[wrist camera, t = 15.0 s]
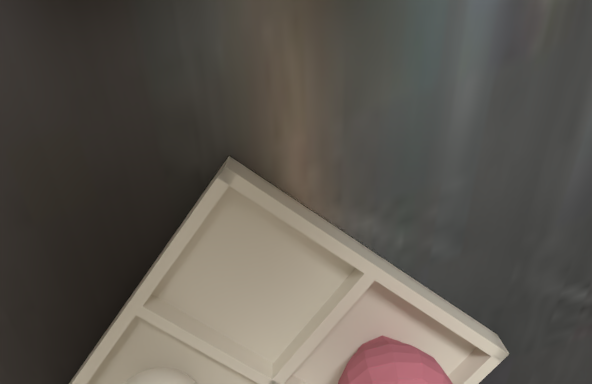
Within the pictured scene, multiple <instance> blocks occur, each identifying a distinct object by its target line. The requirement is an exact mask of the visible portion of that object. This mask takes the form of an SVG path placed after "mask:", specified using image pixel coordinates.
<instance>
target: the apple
mask: <svg viewBox="0 0 592 384" xmlns="http://www.w3.org/2000/svg"><path fill="white" fill-rule="evenodd" d="M338 384H453V383H452V382H451V380H450V379H449V377H448V376H447V375H446V373H445V372H444V370H443V369H442V368H441V366H440V365H439V364H438V362H437V361H436V360H435V359H434V357H432V356H430V355H429V354H427V353H425V352H423V351H421V350H420V349H418V348H416V347H414V346H412V345H409V344H406V343H402V342H400V341H398V340H394V339H391V338H389V337H386V336H383V335H382V336H380V337H377V338H375V339H372V340H370V341H368V342H366V343H364V344H362V345H361V346H360V347H359V348H358V350H357V352H356V353H355V354H354V355H353V356H352V357H351V359H350V360H349V361H348V363H347V365H346V367H345V369H344V371H343V373H342V375H341V377H340V379H339V381H338Z"/></svg>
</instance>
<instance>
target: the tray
mask: <svg viewBox="0 0 592 384" xmlns="http://www.w3.org/2000/svg"><path fill="white" fill-rule="evenodd" d="M382 335H383V336H386V337H389V338H391V339H394V340H398V341H400V342H402V343H406V344H409V345H412V346H414V347H416V348H418V349H420V350H421V351H423V352H425V353H427V354H429V355H430V356H432V357H434V359H435V360H436V361H437V362H438V364H439V365H440V366H441V368H442V369H443V370H444V372H445V373H446V375H447V376H448V377H449V379H450V380H451V382H452V383H453V384H478V383H479V382H480V381H481V380H482V379H484V378H485V377H486V376H487V375H488V374H489V373H490V372H491V371H492V370H493V369H494V368H495V367H496V366H497V365H498V364H499V363H500V362H501V361H502V360H503V359H505V358H506V357H507V356H508V355H509V353H508V351H507V350H506V348H505V346H504V345H503V343H502V342H501V340H500V338H499V337H498V335H497V334H496V333H494V332H493V331H491V330H490V329H488V328H487V327H485V326H484V325H482V324H481V323H479V322H478V321H476V320H475V319H473V318H472V317H470V316H469V315H467V314H466V313H464V312H463V311H461V310H460V309H458V308H457V307H455V306H454V305H452V304H451V303H449V302H448V301H446V300H445V299H443V298H442V297H440V296H439V295H437V294H436V293H434V292H433V291H431V290H430V289H428V288H427V287H425V286H424V285H422V284H421V283H419V282H418V281H416V280H415V279H413V278H412V277H410V276H409V275H407V274H406V273H404V272H403V271H401V270H400V269H398V268H397V267H395V266H394V265H392V264H391V263H389V262H388V261H386V260H385V259H383V258H382V257H380V256H379V255H377V254H376V253H374V252H373V251H371V250H370V249H368V248H367V247H365V246H364V245H362V244H361V243H359V242H358V241H356V240H355V239H353V238H352V237H350V236H349V235H347V234H346V233H344V232H343V231H341V230H340V229H338V228H337V227H335V226H334V225H332V224H331V223H329V222H328V221H326V220H325V219H323V218H322V217H320V216H319V215H317V214H316V213H314V212H313V211H311V210H310V209H308V208H307V207H305V206H304V205H302V204H301V203H299V202H298V201H296V200H295V199H293V198H292V197H290V196H289V195H287V194H286V193H284V192H283V191H281V190H280V189H278V188H277V187H275V186H274V185H272V184H271V183H269V182H268V181H266V180H265V179H263V178H262V177H260V176H259V175H257V174H256V173H254V172H253V171H251V170H250V169H248V168H247V167H245V166H244V165H242V164H241V163H239V162H238V161H236V160H235V159H233V158H232V157H230V156H229V157H228V158H227V159H226V161H225V162H224V164H223V165H222V166H221V168H220V169H219V171H218V172H217V174H216V175H215V176H214V178H213V179H212V181H211V182H210V184H209V185H208V186H207V188H206V189H205V191H204V192H203V194H202V195H201V196H200V198H199V199H198V201H197V202H196V203H195V205H194V206H193V208H192V209H191V211H190V212H189V213H188V215H187V216H186V218H185V219H184V221H183V222H182V223H181V225H180V226H179V228H178V229H177V230H176V232H175V233H174V235H173V236H172V238H171V239H170V240H169V242H168V243H167V245H166V246H165V248H164V249H163V250H162V252H161V253H160V255H159V256H158V258H157V259H156V260H155V262H154V263H153V265H152V266H151V267H150V269H149V270H148V272H147V273H146V275H145V276H144V277H143V279H142V280H141V282H140V283H139V285H138V286H137V287H136V289H135V290H134V292H133V293H132V295H131V296H130V297H129V299H128V300H127V302H126V303H125V304H124V306H123V307H122V309H121V310H120V312H119V313H118V314H117V316H116V317H115V319H114V320H113V322H112V323H111V324H110V326H109V327H108V329H107V330H106V332H105V333H104V334H103V336H102V337H101V339H100V340H99V341H98V343H97V344H96V346H95V347H94V349H93V350H92V351H91V353H90V354H89V356H88V357H87V359H86V360H85V361H84V363H83V364H82V366H81V367H80V368H79V370H78V371H77V373H76V374H75V376H74V377H73V378H72V380H71V381H70V383H69V384H124V383H125V382H126V381H127V380H128V379H129V378H131V377H133V376H134V375H136V374H137V373H140V372H142V371H145V370H148V369H152V368H159V367H163V368H172V369H176V370H179V371H181V372H183V373H185V374H187V375H188V376H190V377H191V378H192V379H193V380H194V381H195V382H196V383H197V384H338V381H339V379H340V377H341V375H342V373H343V371H344V369H345V367H346V365H347V363H348V361H349V360H350V359H351V357H352V356H353V355H354V354H355V353H356V352H357V350H358V348H359V347H360V346H361V345H362V344H364V343H366V342H368V341H370V340H372V339H375V338H377V337H380V336H382Z"/></svg>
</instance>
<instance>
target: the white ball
mask: <svg viewBox="0 0 592 384" xmlns="http://www.w3.org/2000/svg"><path fill="white" fill-rule="evenodd" d="M124 384H197V383H196V382H195V381H194V380H193V379H192V378H191V377H190V376H188V375H187V374H185V373H183V372H181V371H179V370H176V369H172V368H163V367H159V368H152V369H148V370H145V371H142V372H140V373H137V374H136V375H134V376H133V377H131V378H129V379H128V380H127V381H126V382H125V383H124Z"/></svg>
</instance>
